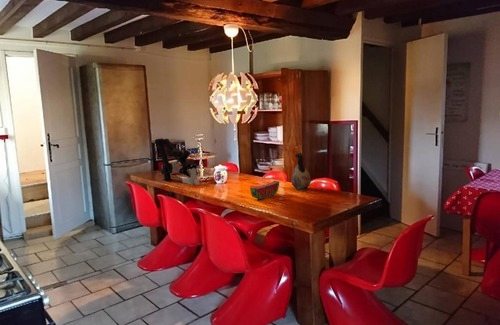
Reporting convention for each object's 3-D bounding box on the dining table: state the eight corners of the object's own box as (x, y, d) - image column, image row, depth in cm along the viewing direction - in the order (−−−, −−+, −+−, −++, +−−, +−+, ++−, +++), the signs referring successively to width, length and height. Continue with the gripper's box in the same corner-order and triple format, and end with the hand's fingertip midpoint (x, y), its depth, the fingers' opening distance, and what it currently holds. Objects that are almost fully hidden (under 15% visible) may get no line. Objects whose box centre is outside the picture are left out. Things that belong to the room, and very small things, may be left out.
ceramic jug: (289, 187, 298) (288, 151, 293) (308, 186, 299) (307, 149, 294) (293, 193, 282) (293, 154, 276) (313, 192, 283) (313, 153, 277)
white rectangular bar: (182, 182, 331) (182, 178, 331) (184, 182, 333) (184, 177, 332) (197, 184, 321) (197, 180, 320) (199, 184, 323) (199, 179, 322)
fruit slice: (255, 202, 263) (255, 188, 261) (249, 200, 267) (249, 187, 266) (280, 194, 281) (279, 181, 279) (274, 192, 285) (273, 180, 283)
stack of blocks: (183, 170, 388) (182, 158, 385) (186, 170, 383) (186, 158, 381) (166, 173, 372) (165, 161, 369) (170, 174, 368) (169, 162, 365)
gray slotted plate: (192, 184, 322) (191, 170, 320) (189, 184, 324) (188, 169, 321) (196, 183, 327) (195, 168, 324) (194, 182, 329) (193, 168, 326)
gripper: (180, 158, 316) (190, 172, 311) (195, 154, 331) (205, 168, 326) (174, 166, 322) (184, 180, 317) (189, 162, 337) (199, 175, 332)
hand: (193, 175), depth 323 cm, fingers open, 9 cm apart
